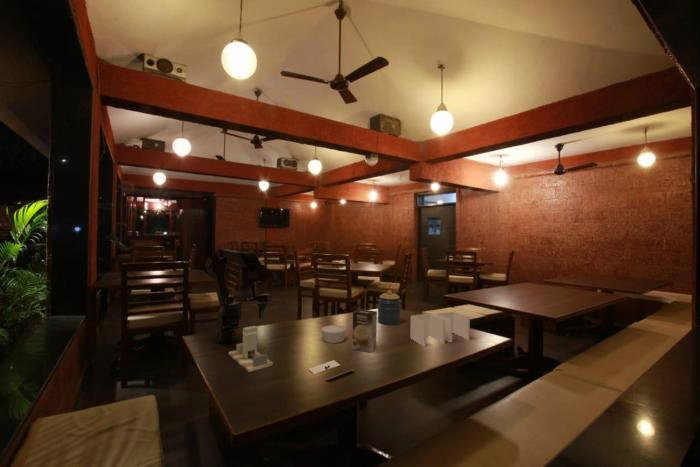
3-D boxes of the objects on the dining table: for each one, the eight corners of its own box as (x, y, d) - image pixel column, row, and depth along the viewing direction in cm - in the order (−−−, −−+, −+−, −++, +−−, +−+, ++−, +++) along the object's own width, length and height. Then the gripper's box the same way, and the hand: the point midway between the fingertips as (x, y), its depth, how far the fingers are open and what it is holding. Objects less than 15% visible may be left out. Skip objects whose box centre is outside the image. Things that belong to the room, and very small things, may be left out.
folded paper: (333, 363, 121) (334, 357, 121) (355, 373, 112) (355, 368, 112) (307, 372, 113) (307, 366, 113) (328, 384, 104) (328, 378, 104)
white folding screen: (453, 333, 157) (454, 311, 157) (469, 340, 147) (469, 317, 147) (410, 339, 148) (410, 315, 148) (423, 347, 138) (424, 322, 138)
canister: (376, 324, 171) (377, 291, 171) (378, 318, 183) (378, 287, 183) (401, 326, 168) (401, 292, 168) (401, 319, 181) (401, 288, 181)
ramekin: (317, 342, 143) (317, 330, 143) (328, 334, 153) (328, 323, 153) (340, 345, 138) (340, 333, 138) (349, 337, 149) (349, 326, 149)
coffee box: (351, 349, 134) (351, 311, 134) (357, 344, 140) (357, 308, 140) (371, 353, 130) (372, 314, 130) (377, 348, 136) (377, 310, 136)
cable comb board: (228, 354, 127) (228, 351, 127) (250, 349, 133) (250, 346, 133) (249, 371, 111) (249, 369, 111) (272, 365, 117) (272, 362, 117)
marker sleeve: (242, 356, 122) (242, 327, 122) (253, 353, 125) (254, 325, 125) (245, 359, 119) (245, 329, 119) (257, 356, 122) (257, 327, 122)
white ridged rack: (235, 352, 127) (235, 344, 127) (247, 349, 130) (247, 341, 130) (254, 367, 113) (254, 358, 113) (267, 363, 116) (267, 354, 116)
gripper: (216, 285, 126) (218, 325, 125) (259, 282, 122) (261, 323, 121) (231, 282, 136) (233, 318, 136) (272, 280, 133) (274, 317, 132)
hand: (250, 319), depth 131 cm, fingers open, 9 cm apart
